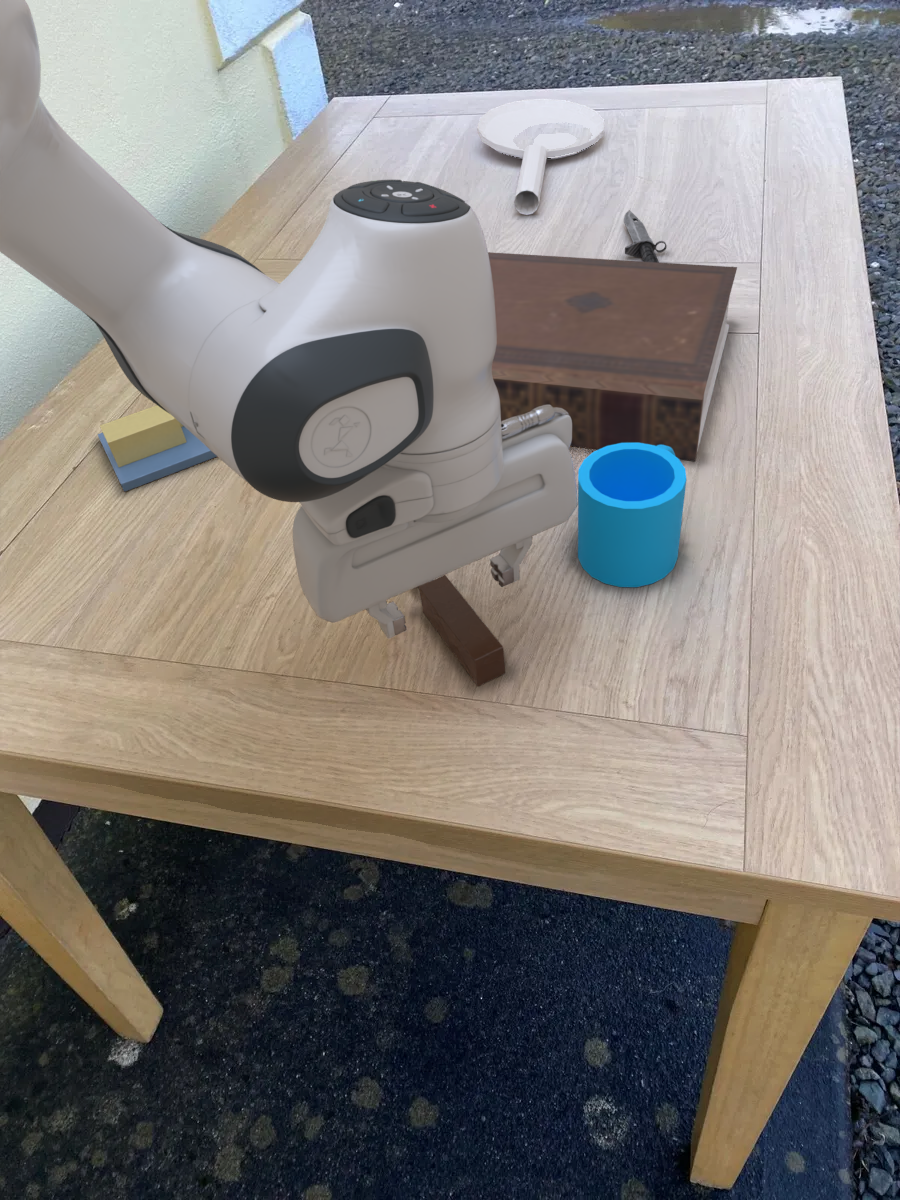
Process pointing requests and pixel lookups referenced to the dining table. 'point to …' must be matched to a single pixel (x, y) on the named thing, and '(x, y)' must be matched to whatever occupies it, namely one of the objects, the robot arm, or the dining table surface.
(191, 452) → the butter dish
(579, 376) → the book
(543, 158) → the frying pan
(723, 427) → the dining table surface
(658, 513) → the mug
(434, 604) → the butter knife
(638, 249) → the knife
